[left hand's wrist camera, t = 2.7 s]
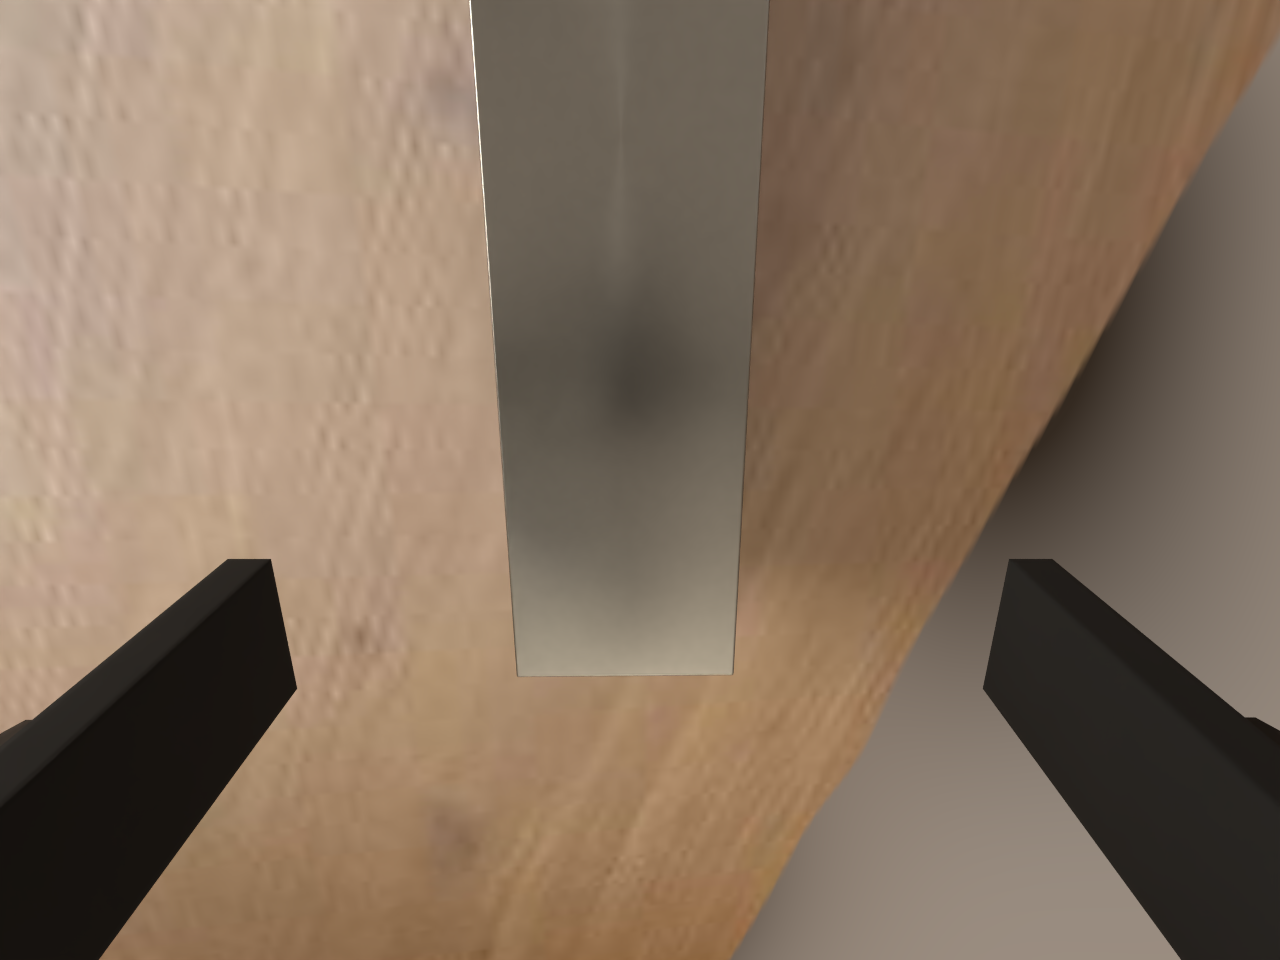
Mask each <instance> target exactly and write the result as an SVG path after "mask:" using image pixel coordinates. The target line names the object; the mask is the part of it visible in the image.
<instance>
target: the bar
mask: <svg viewBox="0 0 1280 960" xmlns="http://www.w3.org/2000/svg"><path fill="white" fill-rule="evenodd" d="M769 6H770V0H469V8H470V22H471V37H472V51H473V65H474V79H475V93H476V107H477V121H478V135H479V149H480V163H481V178H482V192H483V206H484V220H485V234H486V248H487V262H488V276H489V290H490V304H491V319H492V333H493V347H494V361H495V375H496V389H497V403H498V417H499V431H500V445H501V459H502V474H503V488H504V502H505V516H506V530H507V544H508V558H509V572H510V586H511V600H512V615H513V629H514V643H515V657H516V671H517V677H567V676H680V675H733V673H734V654H735V636H736V617H737V599H738V580H739V562H740V543H741V524H742V506H743V487H744V469H745V450H746V432H747V413H748V395H749V376H750V358H751V339H752V321H753V302H754V284H755V265H756V247H757V228H758V210H759V191H760V173H761V154H762V135H763V117H764V98H765V80H766V61H767V43H768V24H769Z"/></svg>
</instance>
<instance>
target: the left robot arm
mask: <svg viewBox="0 0 1280 960" xmlns="http://www.w3.org/2000/svg"><path fill="white" fill-rule="evenodd" d="M296 689H297V686H296V681H295V676H294V671H293V666H292V661H291V656H290V651H289V646H288V641H287V636H286V631H285V627H284V622H283V617H282V612H281V607H280V602H279V597H278V592H277V587H276V582H275V577H274V572H273V567H272V562H271V559H227V560H226V561H225V562H224V563H222V564H221V565H220V566H219V567H218V568H216V569H215V570H214V571H213V572H211V573H210V574H209V575H208V576H207V577H205V578H204V579H203V580H202V581H201V582H199V583H198V584H197V585H196V586H194V587H193V588H192V589H191V590H190V591H188V592H187V593H186V594H185V595H184V596H182V597H181V598H180V599H179V600H177V601H176V602H175V603H174V604H173V605H171V606H170V607H169V608H168V609H167V610H165V611H164V612H163V613H162V614H160V615H159V616H158V617H157V618H156V619H154V620H153V621H152V622H151V623H150V624H148V625H147V626H146V627H145V628H143V629H142V630H141V631H140V632H139V633H137V634H136V635H135V636H134V637H133V638H131V639H130V640H129V641H128V642H126V643H125V644H124V645H123V646H122V647H120V648H119V649H118V650H117V651H116V652H114V653H113V654H112V655H111V656H109V657H108V658H107V659H106V660H105V661H103V662H102V663H101V664H100V665H99V666H97V667H96V668H95V669H94V670H92V671H91V672H90V673H89V674H88V675H86V676H85V677H84V678H83V679H82V680H80V681H79V682H78V683H77V684H75V685H74V686H73V687H72V688H71V689H69V690H68V691H67V692H66V693H64V694H63V695H62V696H61V697H60V698H58V699H57V700H56V701H55V702H54V703H52V704H51V705H50V706H49V707H47V708H46V709H45V710H44V711H43V712H41V713H40V714H39V715H38V716H37V717H35V718H34V719H33V720H25V721H23V722H21V723H19V724H17V725H16V726H14V727H12V728H10V729H8V730H6V731H5V732H3V733H1V734H0V960H99V959H100V957H101V956H102V955H103V953H104V952H105V951H106V949H107V948H108V946H109V945H110V944H111V942H112V941H113V940H114V938H115V937H116V935H117V934H118V933H119V931H120V930H121V929H122V927H123V926H124V925H125V923H126V922H127V920H128V919H129V918H130V916H131V915H132V914H133V912H134V911H135V910H136V908H137V907H138V905H139V904H140V903H141V901H142V900H143V899H144V897H145V896H146V894H147V893H148V892H149V890H150V889H151V888H152V886H153V885H154V884H155V882H156V881H157V879H158V878H159V877H160V875H161V874H162V873H163V871H164V870H165V869H166V867H167V866H168V864H169V863H170V862H171V860H172V859H173V858H174V856H175V855H176V853H177V852H178V851H179V849H180V848H181V847H182V845H183V844H184V843H185V841H186V840H187V838H188V837H189V836H190V834H191V833H192V832H193V830H194V829H195V827H196V826H197V825H198V823H199V822H200V821H201V819H202V818H203V817H204V815H205V814H206V812H207V811H208V810H209V808H210V807H211V806H212V804H213V803H214V802H215V800H216V799H217V797H218V796H219V795H220V793H221V792H222V791H223V789H224V788H225V786H226V785H227V784H228V782H229V781H230V780H231V778H232V777H233V776H234V774H235V773H236V771H237V770H238V769H239V767H240V766H241V765H242V763H243V762H244V761H245V759H246V758H247V756H248V755H249V754H250V752H251V751H252V750H253V748H254V747H255V745H256V744H257V743H258V741H259V740H260V739H261V737H262V736H263V735H264V733H265V732H266V730H267V729H268V728H269V726H270V725H271V724H272V722H273V721H274V719H275V718H276V717H277V715H278V714H279V713H280V711H281V710H282V709H283V707H284V706H285V704H286V703H287V702H288V700H289V699H290V698H291V696H292V695H293V694H294V692H295V691H296ZM983 689H984V691H985V692H986V694H987V695H988V696H989V698H990V699H991V700H992V702H993V703H994V704H995V706H996V707H997V709H998V710H999V711H1000V713H1001V714H1002V715H1003V717H1004V718H1005V719H1006V721H1007V722H1008V724H1009V725H1010V726H1011V728H1012V729H1013V730H1014V732H1015V733H1016V735H1017V736H1018V737H1019V739H1020V740H1021V741H1022V743H1023V744H1024V745H1025V747H1026V748H1027V750H1028V751H1029V752H1030V754H1031V755H1032V756H1033V758H1034V759H1035V760H1036V762H1037V763H1038V765H1039V766H1040V767H1041V769H1042V770H1043V771H1044V773H1045V774H1046V776H1047V777H1048V778H1049V780H1050V781H1051V782H1052V784H1053V785H1054V786H1055V788H1056V789H1057V790H1058V792H1059V793H1060V795H1061V796H1062V797H1063V799H1064V800H1065V802H1066V803H1067V804H1068V806H1069V807H1070V808H1071V810H1072V811H1073V812H1074V814H1075V815H1076V817H1077V818H1078V819H1079V821H1080V822H1081V823H1082V825H1083V826H1084V827H1085V829H1086V830H1087V831H1088V833H1089V834H1090V836H1091V837H1092V838H1093V840H1094V841H1095V843H1096V844H1097V845H1098V847H1099V848H1100V849H1101V851H1102V852H1103V853H1104V855H1105V856H1106V858H1107V859H1108V860H1109V862H1110V863H1111V864H1112V866H1113V867H1114V868H1115V870H1116V871H1117V873H1118V874H1119V875H1120V877H1121V878H1122V879H1123V881H1124V882H1125V884H1126V885H1127V886H1128V888H1129V889H1130V890H1131V892H1132V893H1133V894H1134V896H1135V897H1136V899H1137V900H1138V901H1139V903H1140V904H1141V905H1142V907H1143V908H1144V910H1145V911H1146V912H1147V914H1148V915H1149V916H1150V918H1151V919H1152V920H1153V922H1154V923H1155V924H1156V926H1157V927H1158V929H1159V930H1160V931H1161V933H1162V934H1163V935H1164V937H1165V938H1166V940H1167V941H1168V942H1169V944H1170V945H1171V946H1172V948H1173V949H1174V951H1175V952H1176V953H1177V955H1178V956H1179V957H1180V959H1181V960H1280V731H1279V730H1277V729H1276V728H1274V727H1272V726H1270V725H1268V724H1266V723H1264V722H1263V721H1261V720H1259V719H1257V718H1245V717H1243V716H1242V715H1241V714H1240V713H1239V712H1237V711H1236V710H1235V709H1234V708H1233V707H1231V706H1230V705H1229V704H1228V703H1226V702H1225V701H1224V700H1223V699H1221V698H1220V697H1219V696H1218V695H1217V694H1215V693H1214V692H1213V691H1212V690H1211V689H1209V688H1208V687H1207V686H1206V685H1205V684H1203V683H1202V682H1201V681H1200V680H1198V679H1197V678H1196V677H1195V676H1194V675H1192V674H1191V673H1190V672H1189V671H1188V670H1186V669H1185V668H1184V667H1183V666H1181V665H1180V664H1179V663H1178V662H1177V661H1175V660H1174V659H1173V658H1172V657H1170V656H1169V655H1168V654H1167V653H1166V652H1164V651H1163V650H1162V649H1161V648H1160V647H1158V646H1157V645H1156V644H1155V643H1153V642H1152V641H1151V640H1150V639H1149V638H1147V637H1146V636H1145V635H1144V634H1143V633H1141V632H1140V631H1139V630H1138V629H1137V628H1135V627H1134V626H1133V625H1132V624H1130V623H1129V622H1128V621H1127V620H1126V619H1124V618H1123V617H1122V616H1121V615H1120V614H1118V613H1117V612H1116V611H1115V610H1113V609H1112V608H1111V607H1110V606H1109V605H1107V604H1106V603H1105V602H1104V601H1102V600H1101V599H1100V598H1099V597H1098V596H1096V595H1095V594H1094V593H1093V592H1092V591H1090V590H1089V589H1088V588H1087V587H1086V586H1084V585H1083V584H1082V583H1081V582H1079V581H1078V580H1077V579H1076V578H1075V577H1073V576H1072V575H1071V574H1070V573H1068V572H1067V571H1066V570H1065V569H1064V568H1062V567H1061V566H1060V565H1059V564H1058V563H1056V562H1055V561H1054V560H1053V559H1009V562H1008V568H1007V572H1006V577H1005V582H1004V587H1003V592H1002V597H1001V602H1000V607H999V612H998V617H997V622H996V627H995V631H994V636H993V641H992V646H991V651H990V656H989V661H988V666H987V671H986V676H985V681H984V686H983Z"/></svg>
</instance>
